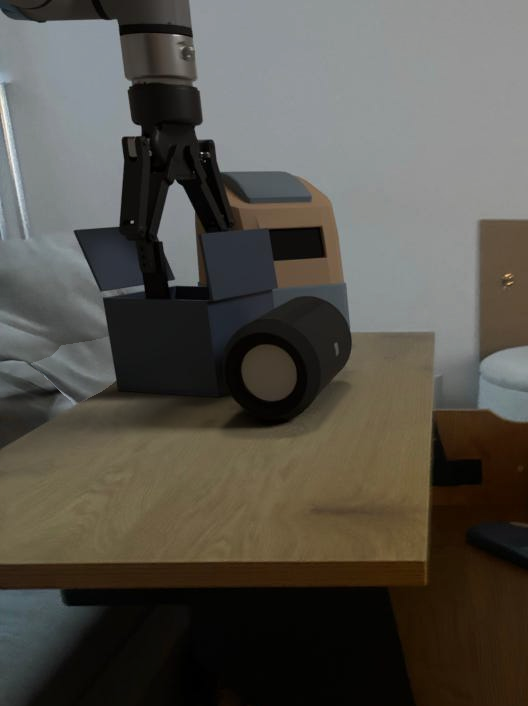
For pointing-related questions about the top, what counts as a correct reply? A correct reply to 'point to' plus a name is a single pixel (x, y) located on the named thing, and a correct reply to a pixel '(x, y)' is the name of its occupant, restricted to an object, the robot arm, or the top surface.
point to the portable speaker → (286, 357)
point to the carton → (192, 319)
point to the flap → (112, 258)
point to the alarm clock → (288, 234)
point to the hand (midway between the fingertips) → (190, 298)
